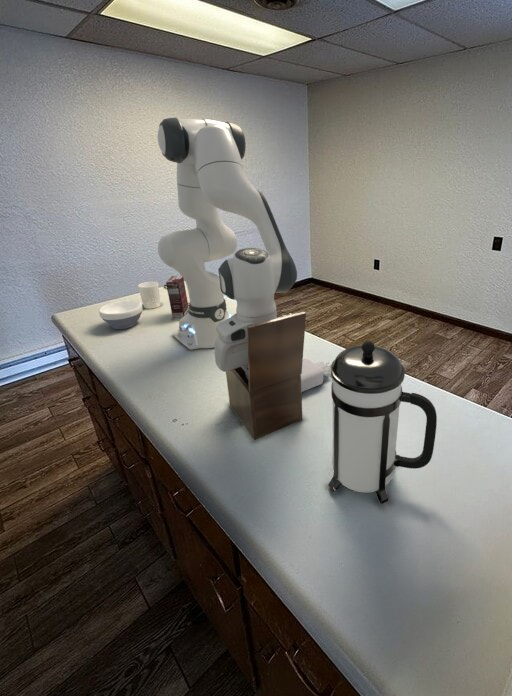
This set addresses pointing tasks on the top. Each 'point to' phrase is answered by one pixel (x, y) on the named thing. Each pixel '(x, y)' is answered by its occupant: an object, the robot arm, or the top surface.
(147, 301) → the white cup
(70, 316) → the top surface
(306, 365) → the tissue pack
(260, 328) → the lid
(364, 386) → the coffee press
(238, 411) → the box
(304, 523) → the top surface
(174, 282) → the supplement box
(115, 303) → the bowl
